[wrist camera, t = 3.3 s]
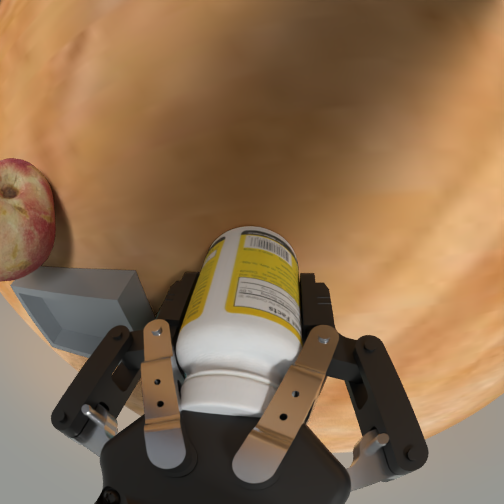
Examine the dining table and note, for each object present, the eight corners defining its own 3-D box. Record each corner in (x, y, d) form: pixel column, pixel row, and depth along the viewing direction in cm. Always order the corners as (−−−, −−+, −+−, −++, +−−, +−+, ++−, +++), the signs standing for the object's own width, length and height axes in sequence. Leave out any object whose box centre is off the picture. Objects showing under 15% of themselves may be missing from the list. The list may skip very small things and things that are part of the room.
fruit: (95, 224, 16) (22, 309, 9) (40, 246, 18) (-16, 311, 11) (50, 121, 12) (-50, 172, 5) (3, 167, 14) (-68, 218, 7)
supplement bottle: (226, 301, 18) (195, 440, 10) (194, 234, 16) (125, 388, 8) (306, 288, 17) (312, 441, 9) (287, 213, 14) (287, 391, 6)
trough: (27, 265, 19) (10, 285, 17) (135, 270, 18) (117, 300, 15) (64, 327, 24) (52, 346, 22) (168, 345, 23) (158, 373, 20)
